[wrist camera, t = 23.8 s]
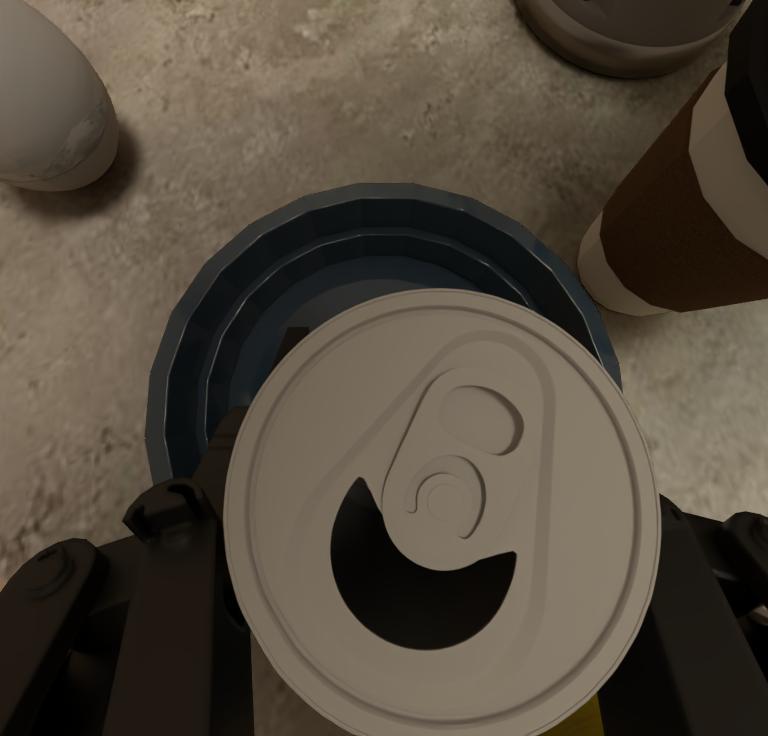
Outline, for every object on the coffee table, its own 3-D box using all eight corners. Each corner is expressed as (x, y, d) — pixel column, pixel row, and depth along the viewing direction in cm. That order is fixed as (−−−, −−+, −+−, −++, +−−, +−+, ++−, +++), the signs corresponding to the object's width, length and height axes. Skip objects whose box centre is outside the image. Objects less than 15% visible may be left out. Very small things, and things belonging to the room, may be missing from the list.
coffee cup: (681, 384, 19) (1214, 335, 7) (511, 307, 19) (745, 132, 7) (729, 230, 20) (1232, -27, 8) (572, 160, 21) (846, -182, 9)
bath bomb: (180, 155, 20) (51, -18, 12) (82, 248, 19) (-133, 126, 11) (86, 81, 20) (-99, -136, 12) (-15, 167, 19) (-290, -8, 11)
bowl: (218, 241, 19) (164, 181, 14) (540, 241, 20) (597, 183, 15) (199, 601, 16) (124, 683, 11) (574, 583, 17) (657, 654, 12)
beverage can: (301, 472, 15) (71, 651, 3) (360, 355, 16) (336, 187, 5) (421, 531, 15) (607, 930, 3) (473, 409, 16) (752, 378, 4)
